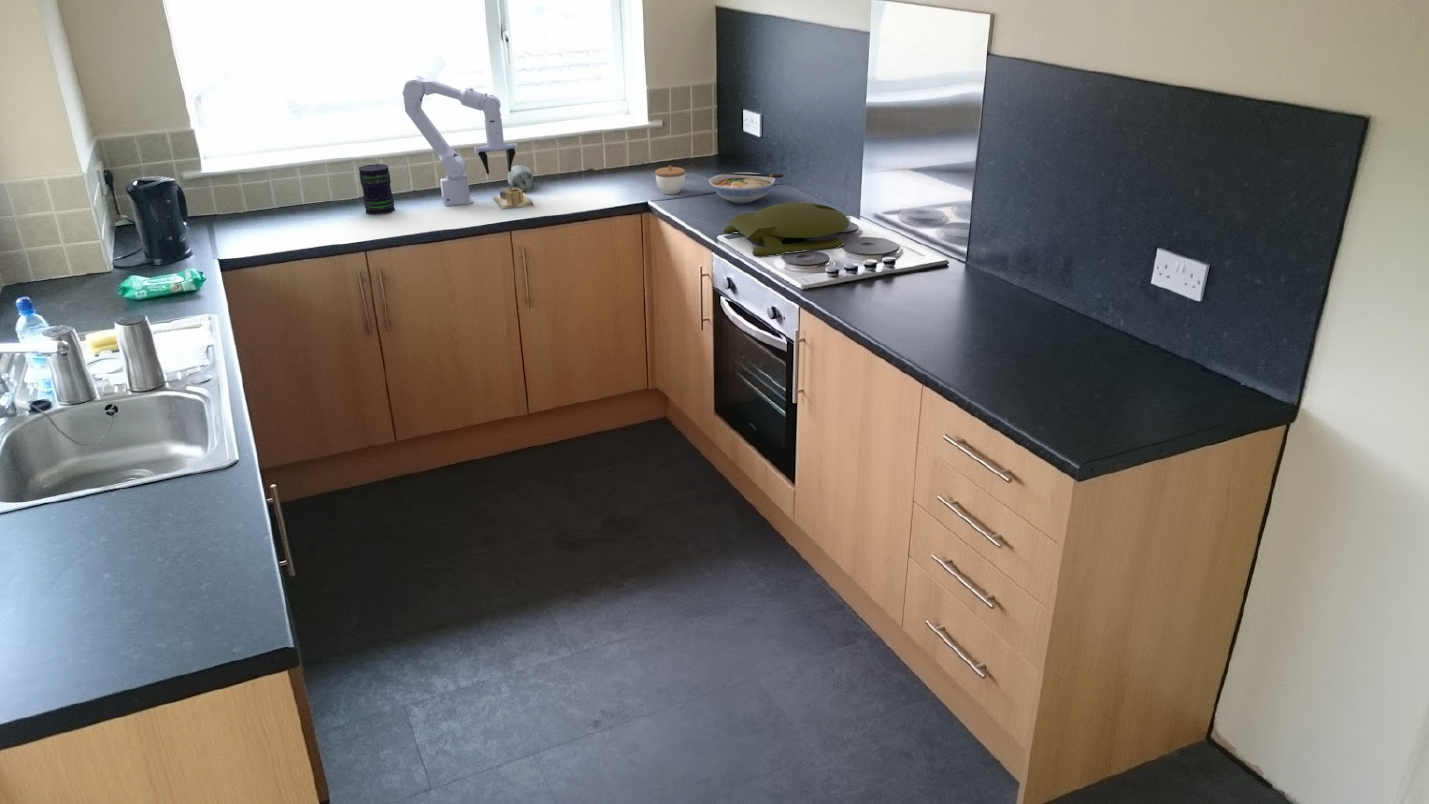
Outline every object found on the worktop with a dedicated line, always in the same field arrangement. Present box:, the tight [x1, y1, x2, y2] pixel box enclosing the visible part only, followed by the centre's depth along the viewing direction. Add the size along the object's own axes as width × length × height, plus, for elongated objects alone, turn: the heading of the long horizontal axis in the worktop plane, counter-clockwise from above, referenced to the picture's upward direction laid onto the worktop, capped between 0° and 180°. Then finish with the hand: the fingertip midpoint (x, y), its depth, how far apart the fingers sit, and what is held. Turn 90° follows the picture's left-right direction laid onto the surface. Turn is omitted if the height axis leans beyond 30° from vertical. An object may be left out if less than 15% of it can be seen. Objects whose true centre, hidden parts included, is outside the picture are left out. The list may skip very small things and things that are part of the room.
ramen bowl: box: [708, 172, 784, 205], centre depth 354 cm, size 25×23×8 cm
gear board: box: [492, 186, 534, 210], centre depth 359 cm, size 11×14×4 cm
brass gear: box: [506, 189, 524, 204], centre depth 355 cm, size 6×6×4 cm
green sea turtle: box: [723, 201, 850, 258], centre depth 313 cm, size 35×31×10 cm
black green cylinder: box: [358, 163, 396, 216], centre depth 350 cm, size 10×10×15 cm
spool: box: [507, 164, 534, 192], centre depth 377 cm, size 14×10×10 cm
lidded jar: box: [654, 165, 686, 195], centre depth 368 cm, size 11×11×9 cm
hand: (498, 172), depth 359 cm, fingers open, 7 cm apart
